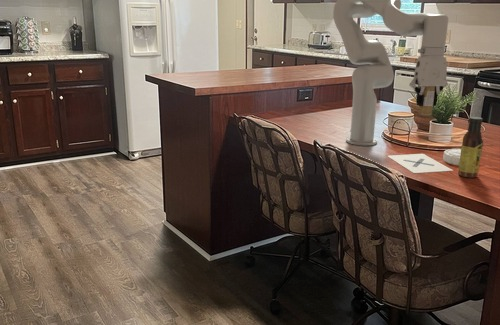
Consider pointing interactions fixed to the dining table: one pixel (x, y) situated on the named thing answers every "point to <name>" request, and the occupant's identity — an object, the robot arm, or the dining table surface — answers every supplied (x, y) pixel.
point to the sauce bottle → (471, 149)
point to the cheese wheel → (452, 156)
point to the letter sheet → (419, 163)
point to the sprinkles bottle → (427, 101)
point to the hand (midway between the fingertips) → (426, 104)
